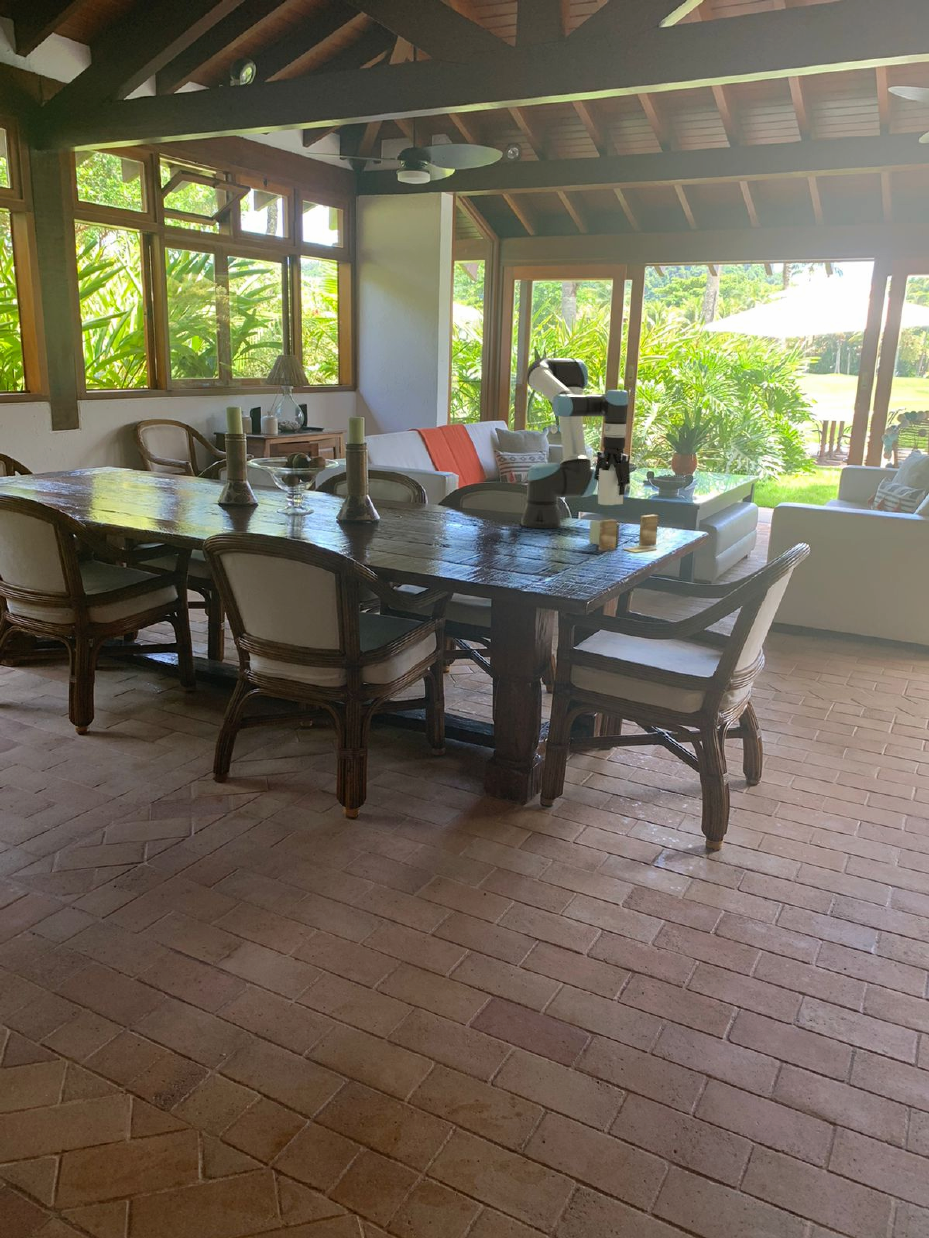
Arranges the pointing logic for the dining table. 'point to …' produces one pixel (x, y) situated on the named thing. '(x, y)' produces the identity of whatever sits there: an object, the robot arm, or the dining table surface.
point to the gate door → (596, 532)
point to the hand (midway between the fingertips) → (610, 502)
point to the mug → (607, 487)
